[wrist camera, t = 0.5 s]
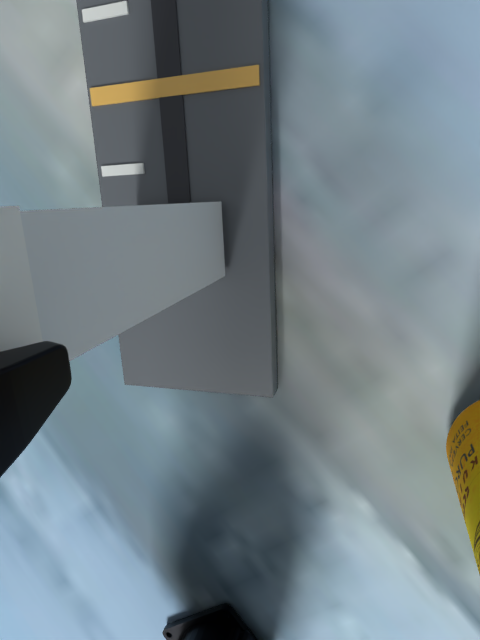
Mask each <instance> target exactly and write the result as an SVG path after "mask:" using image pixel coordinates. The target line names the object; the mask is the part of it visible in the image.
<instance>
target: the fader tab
mask: <svg viewBox="0 0 480 640" xmlns="http://www.w3.org/2000/svg"><path fill="white" fill-rule="evenodd" d="M224 276H225V259H224V241H223V223H222V205H221V201H219V202H198V203H177V204H156V205H135V206H114V207H93V208H72V209H51V210H30V211H20V209H19V206H1V207H0V352H1V351H5V350H9V349H14V348H18V347H22V346H26V345H30V344H34V343H38V342H43V341H51V342H55V343H59V344H62V345H64V346H65V347H66V348H67V350H68V356H69V361H71V360H73V359H74V358H76V357H78V356H80V355H82V354H84V353H85V352H87V351H89V350H91V349H93V348H95V347H96V346H98V345H100V344H102V343H104V342H106V341H107V340H109V339H111V338H113V337H115V336H116V335H118V334H120V333H122V332H124V331H126V330H127V329H129V328H131V327H133V326H135V325H137V324H138V323H140V322H142V321H144V320H146V319H148V318H149V317H151V316H153V315H155V314H157V313H159V312H160V311H162V310H164V309H166V308H168V307H170V306H171V305H173V304H175V303H177V302H179V301H180V300H182V299H184V298H186V297H188V296H190V295H191V294H193V293H195V292H197V291H199V290H201V289H202V288H204V287H206V286H208V285H210V284H212V283H213V282H215V281H217V280H219V279H221V278H223V277H224Z"/></svg>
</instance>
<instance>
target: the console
mask: <svg viewBox="0 0 480 640" xmlns="http://www.w3.org/2000/svg"><path fill="white" fill-rule="evenodd" d="M76 1H77V9H78V17H79V25H80V33H81V41H82V49H83V57H84V64H85V72H86V80H87V88H88V96H89V104H90V112H91V120H92V128H93V136H94V144H95V152H96V160H97V168H98V176H99V184H100V192H101V200H102V207H114V206H135V205H156V204H177V203H198V202H219V201H221V205H222V223H223V241H224V259H225V276H224V277H223V278H221V279H219V280H217V281H215V282H213V283H212V284H210V285H208V286H206V287H204V288H202V289H201V290H199V291H197V292H195V293H193V294H191V295H190V296H188V297H186V298H184V299H182V300H180V301H179V302H177V303H175V304H173V305H171V306H170V307H168V308H166V309H164V310H162V311H160V312H159V313H157V314H155V315H153V316H151V317H149V318H148V319H146V320H144V321H142V322H140V323H138V324H137V325H135V326H133V327H131V328H129V329H127V330H126V331H124V332H122V333H120V334H118V335H119V343H120V351H121V359H122V367H123V375H124V383H125V385H136V386H147V387H159V388H170V389H182V390H193V391H205V392H216V393H228V394H239V395H251V396H262V397H273V396H274V394H275V392H276V390H277V388H278V386H277V345H276V305H275V264H274V224H273V184H272V143H271V103H270V62H269V22H268V0H76Z"/></svg>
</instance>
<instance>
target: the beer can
mask: <svg viewBox="0 0 480 640" xmlns="http://www.w3.org/2000/svg"><path fill="white" fill-rule="evenodd" d="M446 451H447V457H448V461H449V465H450V469H451V472H452V476H453V480H454V483H455V487H456V490H457V494H458V498H459V501H460V505H461V509H462V512H463V516H464V520H465V523H466V527H467V530H468V534H469V538H470V541H471V545H472V549H473V552H474V556H475V559H476V563H477V567H478V570H479V574H480V400H478V401H476V402H474V403H473V404H471V405H470V406H468V407H467V408H466V409H465V410H464V411H462V412H461V413H460V415H459V416H458V417H457V418H456V419H455V421H454V422H453V424H452V426H451V428H450V430H449V433H448V437H447V443H446Z"/></svg>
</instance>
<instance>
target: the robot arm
mask: <svg viewBox="0 0 480 640" xmlns="http://www.w3.org/2000/svg"><path fill="white" fill-rule="evenodd" d="M71 379H72V378H71V370H70V363H69V356H68V350H67V348H66V347H65V346H64V345H62V344H59V343H55V342H51V341H43V342H38V343H34V344H30V345H26V346H22V347H18V348H14V349H9V350H5V351H1V352H0V477H1V476H2V475H3V474H4V473H5V471H6V470H7V469H8V468H9V467H10V466H11V465H12V463H13V462H14V461H15V460H16V459H17V458H18V457H19V455H20V454H21V453H22V452H23V451H24V449H25V448H26V447H27V446H28V444H29V443H30V442H31V440H32V439H33V438H34V436H35V435H36V434H37V432H38V431H39V429H40V428H41V427H42V425H43V424H44V423H45V421H46V420H47V418H48V417H49V416H50V414H51V413H52V411H53V410H54V409H55V407H56V406H57V405H58V403H59V402H60V400H61V399H62V398H63V396H64V395H65V393H66V392H67V391H68V389H69V387H70V384H71ZM163 635H164V637H165V638H166V640H257V639H256V638H255V636H254V635H253V634H252V632H251V631H250V630H249V629H248V627H247V626H246V625H245V623H244V622H243V621H242V619H241V618H240V617H239V615H238V614H237V613H236V611H235V610H234V609H233V608H232V607H231V606H230V605H228V604H222V605H220V606H217V607H214V608H211V609H209V610H206V611H203V612H200V613H198V614H195V615H192V616H189V617H187V618H184V619H181V620H179V621H176V622H173V623H170V624H168V625H166V626H165V628H164V630H163Z"/></svg>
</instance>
